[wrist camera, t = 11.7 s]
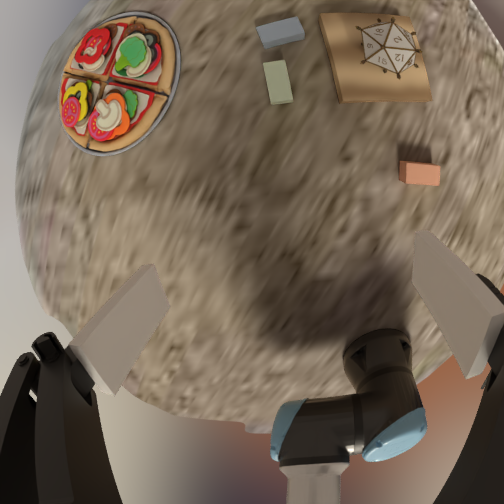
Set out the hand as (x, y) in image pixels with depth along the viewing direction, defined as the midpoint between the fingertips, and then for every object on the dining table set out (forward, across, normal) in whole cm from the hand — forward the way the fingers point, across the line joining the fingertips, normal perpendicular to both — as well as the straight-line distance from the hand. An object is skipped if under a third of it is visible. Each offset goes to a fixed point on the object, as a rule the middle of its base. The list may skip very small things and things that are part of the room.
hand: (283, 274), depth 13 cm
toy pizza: (+29, +26, -24) cm, 46 cm away
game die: (+26, -16, -17) cm, 35 cm away
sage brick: (+29, -1, -14) cm, 32 cm away
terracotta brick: (+29, -20, +1) cm, 35 cm away
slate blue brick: (+29, -3, -22) cm, 36 cm away
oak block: (+29, -16, -17) cm, 37 cm away
